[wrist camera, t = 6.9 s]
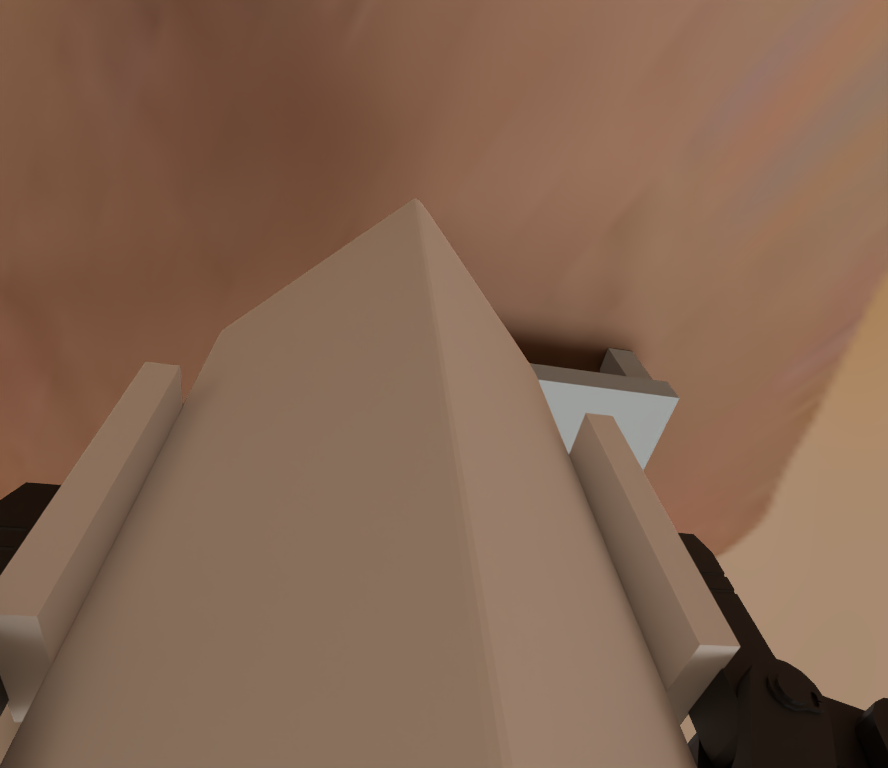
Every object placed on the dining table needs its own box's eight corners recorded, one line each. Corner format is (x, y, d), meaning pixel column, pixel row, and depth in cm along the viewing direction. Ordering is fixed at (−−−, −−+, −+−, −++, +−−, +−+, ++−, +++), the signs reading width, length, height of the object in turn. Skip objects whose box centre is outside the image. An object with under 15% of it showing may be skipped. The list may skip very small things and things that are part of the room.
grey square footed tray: (349, 511, 51) (344, 576, 45) (380, 308, 41) (380, 359, 35) (561, 529, 55) (582, 591, 49) (640, 346, 44) (679, 398, 39)
